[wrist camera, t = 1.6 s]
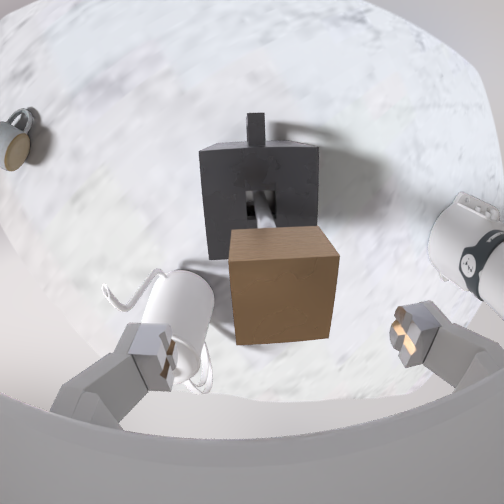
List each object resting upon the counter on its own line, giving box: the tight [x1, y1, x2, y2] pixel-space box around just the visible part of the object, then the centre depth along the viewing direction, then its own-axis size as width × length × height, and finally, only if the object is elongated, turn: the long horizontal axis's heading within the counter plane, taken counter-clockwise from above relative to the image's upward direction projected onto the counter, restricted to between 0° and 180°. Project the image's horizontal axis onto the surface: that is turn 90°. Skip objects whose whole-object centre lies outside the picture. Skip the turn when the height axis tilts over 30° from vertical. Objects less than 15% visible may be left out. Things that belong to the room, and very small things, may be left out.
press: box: [199, 113, 319, 260], centre depth 30 cm, size 10×13×16 cm
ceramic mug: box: [0, 108, 33, 171], centre depth 29 cm, size 11×8×8 cm
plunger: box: [228, 190, 340, 345], centre depth 19 cm, size 7×7×19 cm
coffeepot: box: [102, 269, 214, 395], centre depth 38 cm, size 11×25×19 cm, turn 21°
